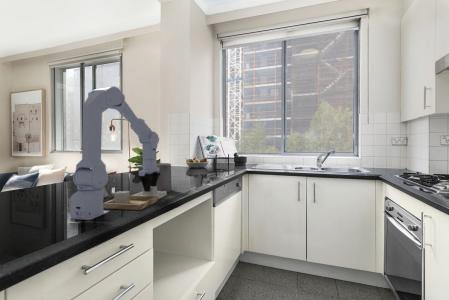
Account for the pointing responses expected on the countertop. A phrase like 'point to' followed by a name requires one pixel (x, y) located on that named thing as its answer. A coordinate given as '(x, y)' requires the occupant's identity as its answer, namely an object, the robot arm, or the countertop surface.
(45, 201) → the countertop surface
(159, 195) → the stoneware dish
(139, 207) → the wooden tray
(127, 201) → the stone
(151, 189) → the stone
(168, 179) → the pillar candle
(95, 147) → the robot arm
